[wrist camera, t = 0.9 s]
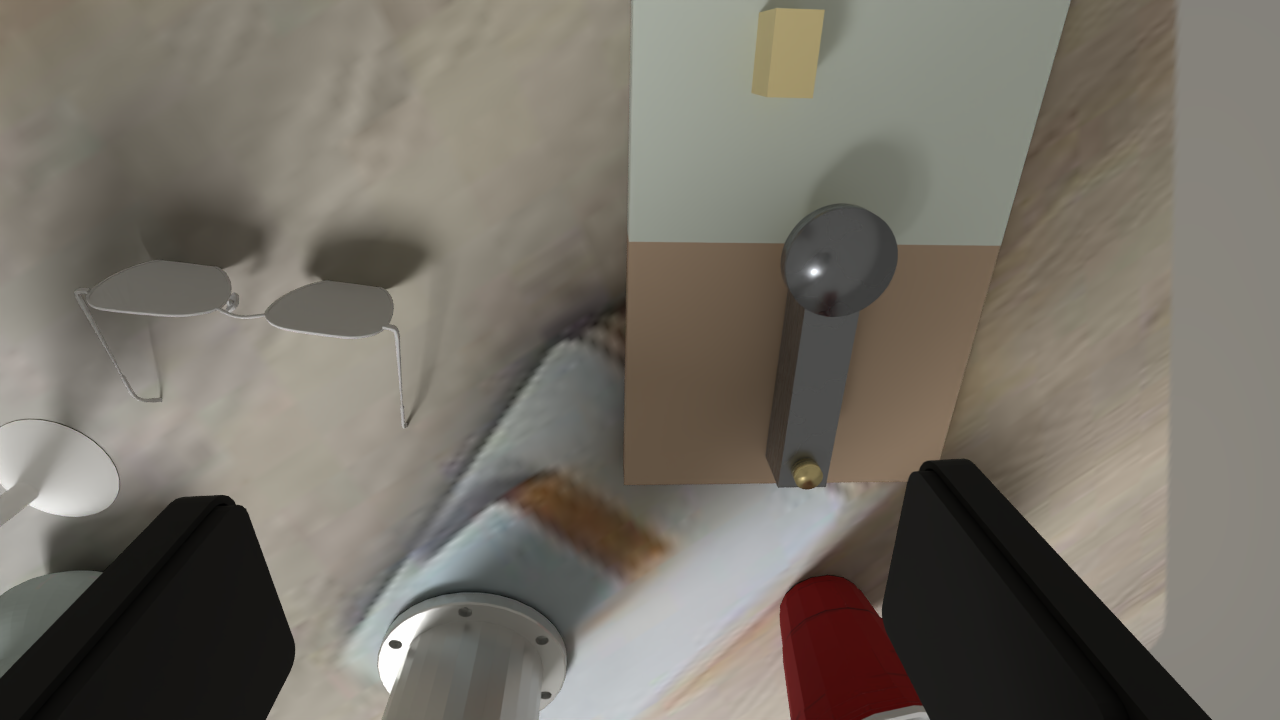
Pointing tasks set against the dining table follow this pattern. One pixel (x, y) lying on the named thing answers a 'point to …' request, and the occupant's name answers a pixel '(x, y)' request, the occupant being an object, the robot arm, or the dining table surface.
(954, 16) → the door board
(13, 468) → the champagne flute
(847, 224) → the latch bar
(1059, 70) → the dining table surface
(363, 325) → the sunglasses
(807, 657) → the plastic cup
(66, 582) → the air freshener
